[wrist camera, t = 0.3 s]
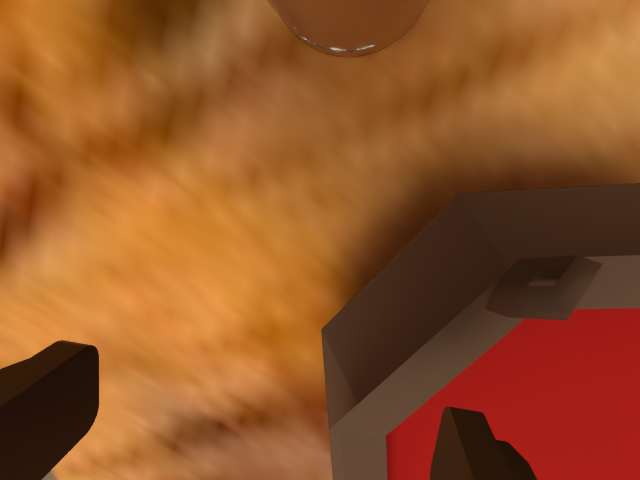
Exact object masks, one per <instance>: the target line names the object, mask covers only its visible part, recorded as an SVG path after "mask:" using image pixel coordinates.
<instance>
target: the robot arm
mask: <svg viewBox="0 0 640 480" xmlns="http://www.w3.org/2000/svg"><path fill="white" fill-rule="evenodd" d="M427 1H428V0H268V2H269V3H270V4H271V6H272V7H273V8H274V9H275V11H276V12H277V13H278V14H279V16H280V17H281V18H282V20H283V21H284V22H285V23H286V25H287V26H288V27H289V29H290V30H291V31H292V32H293V33H294V34H295V35H296V36H297V37H298V38H299V39H301V40H302V41H303V42H304V43H305V44H307V45H309V46H311V47H312V48H314V49H316V50H318V51H320V52H323V53H327V54H330V55H334V56H344V57H355V56H361V55H366V54H371V53H373V52H375V51H378V50H380V49H382V48H385V47H387V46H388V45H390V44H391V43H393V42H394V41H395V40H397V39H398V38H400V37H401V36H402V35H403V34H404V33H405V32H406V31H407V30H408V29H409V28H410V27H411V26H412V25H413V24H414V23H415V21H416V20H417V18H418V17H419V15H420V13H421V12H422V10H423V9H424V7H425V6H426V4H427ZM98 408H99V354H98V350H97V348H96V347H95V346H92V345H87V344H81V343H75V342H69V341H63V340H62V341H57V342H55V343H53V344H52V345H50V346H49V347H47V348H45V349H44V350H42V351H41V352H39V353H37V354H36V355H34V356H33V357H31V358H29V359H26V360H23V361H21V362H18V363H15V364H13V365H10V366H7V367H5V368H2V369H0V480H42V478H44V477H45V476H46V475H47V474H48V473H49V472H50V470H51V469H52V468H53V467H54V466H55V465H56V464H57V463H58V462H59V461H60V460H61V459H62V458H63V457H64V456H65V455H66V454H67V453H68V452H69V451H70V450H71V449H72V448H73V447H74V446H75V445H76V444H77V443H78V442H79V441H80V440H81V439H82V438H83V437H84V436H85V435H86V433H87V432H88V431H89V430H90V428H91V426H92V425H93V423H94V421H95V418H96V416H97V412H98ZM430 480H537V478H536V476H535V474H534V472H533V470H532V468H531V467H530V465H529V463H528V462H527V461H526V460H525V459H524V458H523V456H522V455H521V454H520V453H519V452H518V451H517V450H516V449H515V448H514V447H513V446H512V445H511V444H510V443H509V442H506V441H501V440H496V439H495V437H494V435H493V433H492V430H491V428H490V426H489V424H488V422H487V419H486V417H485V415H484V414H483V413H482V412H479V411H473V410H467V409H461V408H455V407H449V406H446V407H445V408H444V410H443V413H442V417H441V421H440V426H439V431H438V435H437V440H436V445H435V449H434V454H433V458H432V463H431V469H430Z"/></svg>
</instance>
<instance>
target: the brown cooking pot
mask: <svg viewBox="0 0 640 480" xmlns="http://www.w3.org/2000/svg"><path fill="white" fill-rule="evenodd" d="M321 332H322V345H323V358H324V370H325V383H326V396H327V409H328V421H329V434H330V447H331V460H332V472H333V480H430V469H431V463H432V458H433V454H434V449H435V445H436V440H437V435H438V431H439V426H440V421H441V417H442V413H443V410H444V408H445V407H446V406H449V407H455V408H461V409H467V410H473V411H479V412H482V413H483V414H484V415H485V417H486V419H487V422H488V424H489V426H490V428H491V430H492V433H493V435H494V437H495V439H496V440H501V441H506V442H509V443H510V444H511V445H512V446H513V447H514V448H515V449H516V450H517V451H518V452H519V453H520V454H521V455H522V456H523V458H524V459H525V460H526V461H527V462H528V463H529V465H530V467H531V468H532V470H533V472H534V474H535V476H536V478H537V480H640V183H638V184H619V185H601V186H582V187H563V188H545V189H526V190H508V191H489V192H470V193H457V194H456V195H455V196H454V197H453V198H452V199H451V200H450V201H449V202H448V203H447V204H446V205H445V206H444V207H443V208H442V209H441V210H440V211H439V212H438V213H437V214H436V215H435V216H434V217H433V218H432V219H431V220H430V221H429V222H428V223H427V224H426V225H425V226H424V227H423V228H422V229H421V230H420V231H419V232H418V233H417V234H416V235H415V236H414V237H413V238H412V239H411V240H410V241H409V242H408V243H407V244H406V245H405V246H404V247H403V248H402V249H401V250H400V251H399V252H398V253H397V254H396V255H395V256H394V257H393V258H392V259H391V260H390V261H389V262H388V263H387V264H386V265H385V266H384V267H383V268H382V269H381V270H380V271H379V272H378V273H377V275H376V276H375V277H374V278H373V279H372V280H371V281H370V282H369V283H368V284H367V285H366V286H365V287H364V288H363V289H362V290H361V291H360V292H359V293H358V294H357V295H356V296H355V297H354V298H353V299H352V300H351V301H350V302H349V303H348V304H347V305H346V306H345V307H344V308H343V309H342V310H341V311H340V312H339V313H338V314H337V315H336V316H335V317H334V318H333V319H332V320H331V321H330V322H329V323H328V324H327V325H326V326H325V327H324V328H323V329H322V330H321Z"/></svg>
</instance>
